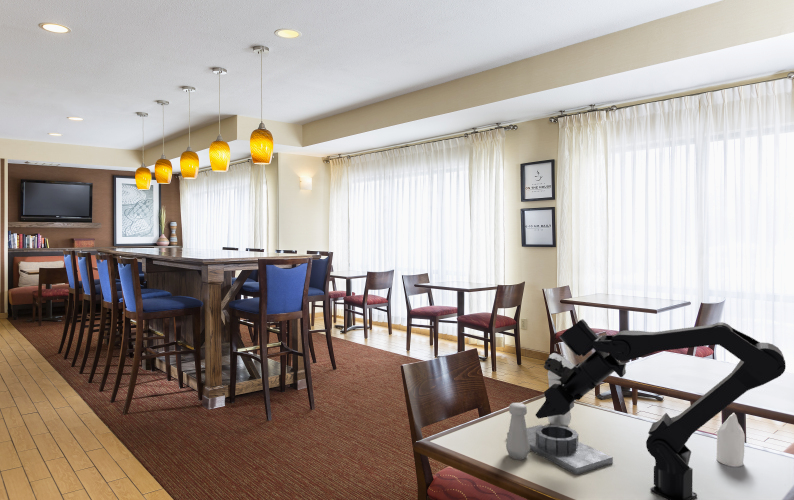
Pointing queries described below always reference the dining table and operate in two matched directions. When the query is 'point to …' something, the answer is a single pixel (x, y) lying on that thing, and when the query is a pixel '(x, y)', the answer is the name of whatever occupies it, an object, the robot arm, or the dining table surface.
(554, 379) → the plastic bottle
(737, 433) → the white pointed cylinder
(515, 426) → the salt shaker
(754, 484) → the dining table surface
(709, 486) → the dining table surface
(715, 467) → the dining table surface
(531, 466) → the dining table surface
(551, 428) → the plate with ring
